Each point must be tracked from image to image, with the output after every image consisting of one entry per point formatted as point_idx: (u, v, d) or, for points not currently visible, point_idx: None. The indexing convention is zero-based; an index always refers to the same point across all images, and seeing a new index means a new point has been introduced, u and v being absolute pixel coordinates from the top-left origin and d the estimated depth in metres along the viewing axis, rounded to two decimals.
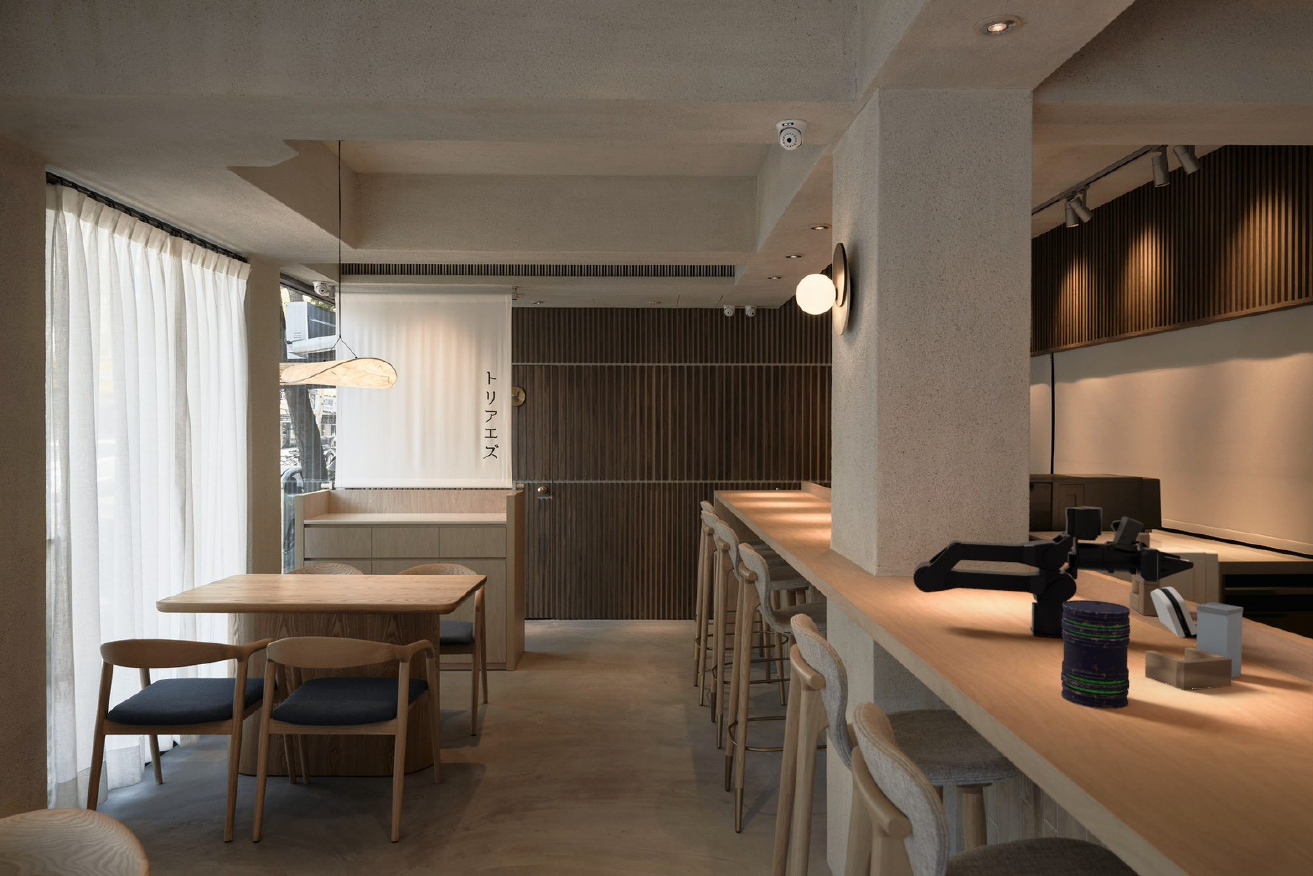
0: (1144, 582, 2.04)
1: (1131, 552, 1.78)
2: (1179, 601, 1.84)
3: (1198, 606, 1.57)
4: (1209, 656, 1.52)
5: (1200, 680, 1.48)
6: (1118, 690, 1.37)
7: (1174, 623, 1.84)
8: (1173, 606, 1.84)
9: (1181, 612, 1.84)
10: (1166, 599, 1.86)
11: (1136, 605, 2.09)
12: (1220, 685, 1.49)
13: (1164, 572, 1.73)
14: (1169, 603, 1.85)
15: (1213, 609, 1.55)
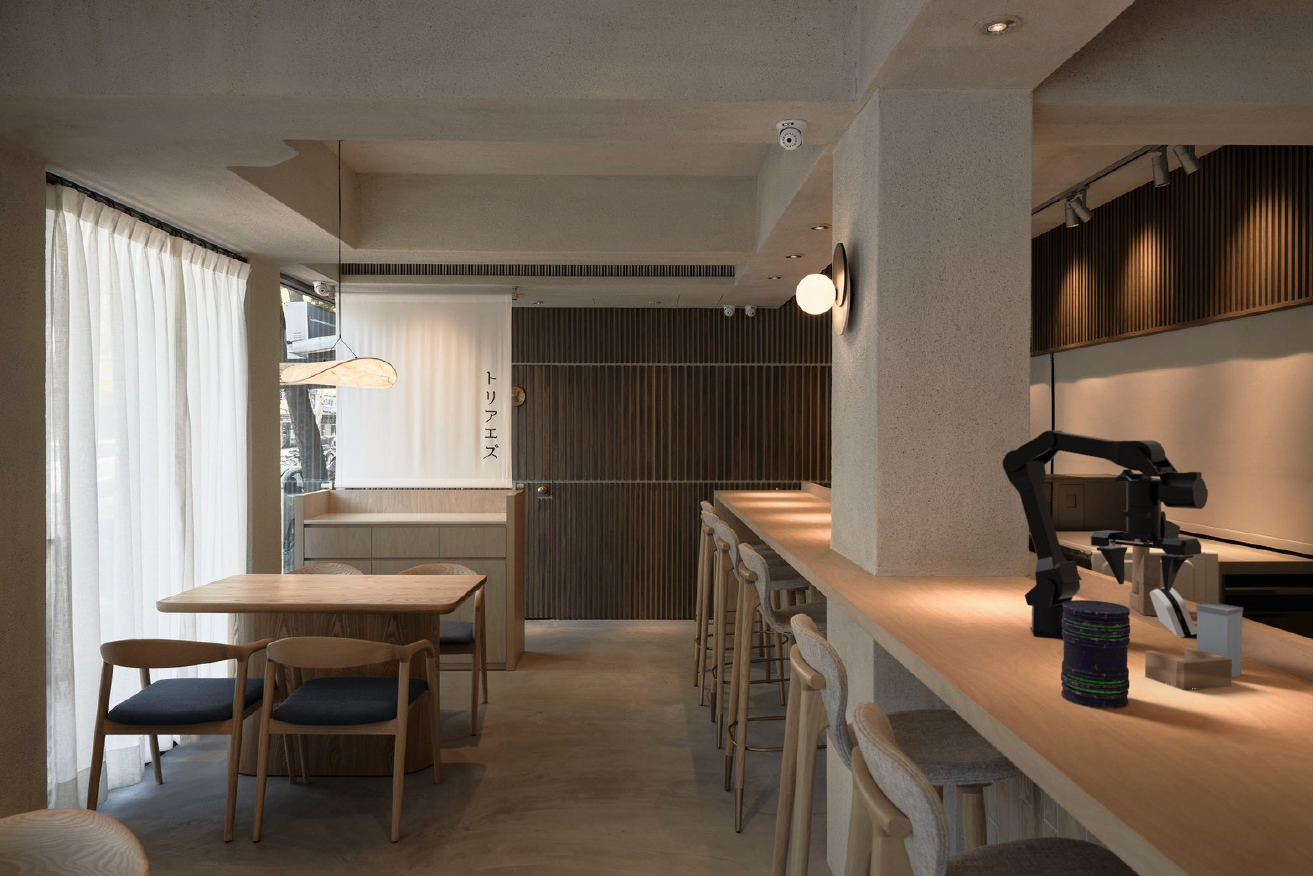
0: (1144, 582, 2.04)
1: (1161, 533, 1.68)
2: (1179, 601, 1.84)
3: (1199, 606, 1.57)
4: (1209, 656, 1.52)
5: (1200, 680, 1.48)
6: (1118, 690, 1.37)
7: (1174, 623, 1.84)
8: (1173, 606, 1.84)
9: (1181, 612, 1.84)
10: (1166, 599, 1.86)
11: (1136, 605, 2.09)
12: (1220, 685, 1.49)
13: (1172, 563, 1.63)
14: (1169, 603, 1.85)
15: (1213, 609, 1.55)
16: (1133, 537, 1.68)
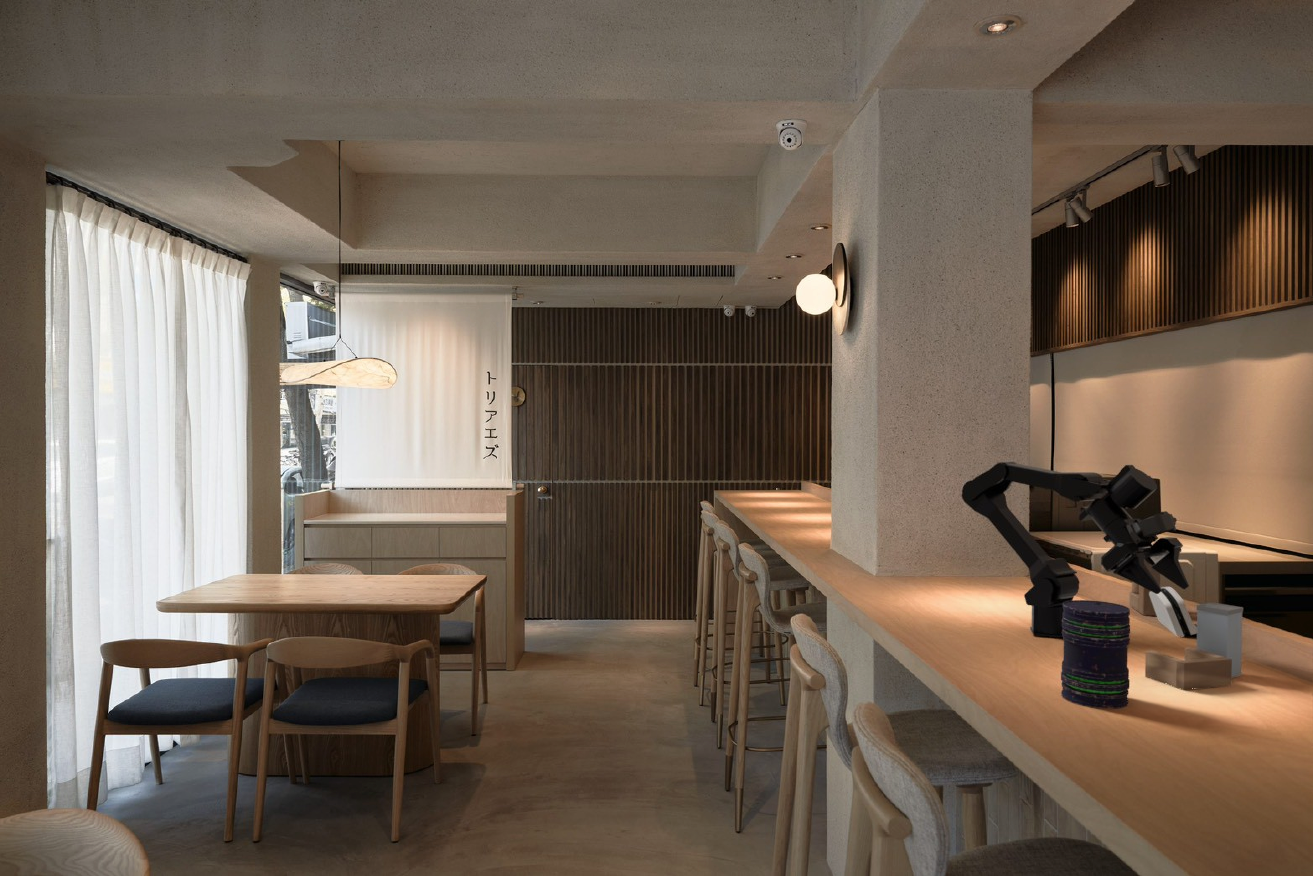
0: None
1: (1133, 540, 1.67)
2: (1178, 601, 1.84)
3: (1198, 606, 1.57)
4: (1209, 656, 1.52)
5: (1200, 680, 1.48)
6: (1118, 690, 1.37)
7: (1173, 623, 1.84)
8: (1172, 606, 1.84)
9: (1180, 612, 1.84)
10: (1165, 599, 1.86)
11: (1136, 605, 2.09)
12: (1220, 685, 1.49)
13: (1127, 574, 1.64)
14: (1168, 603, 1.85)
15: (1213, 609, 1.55)
16: None
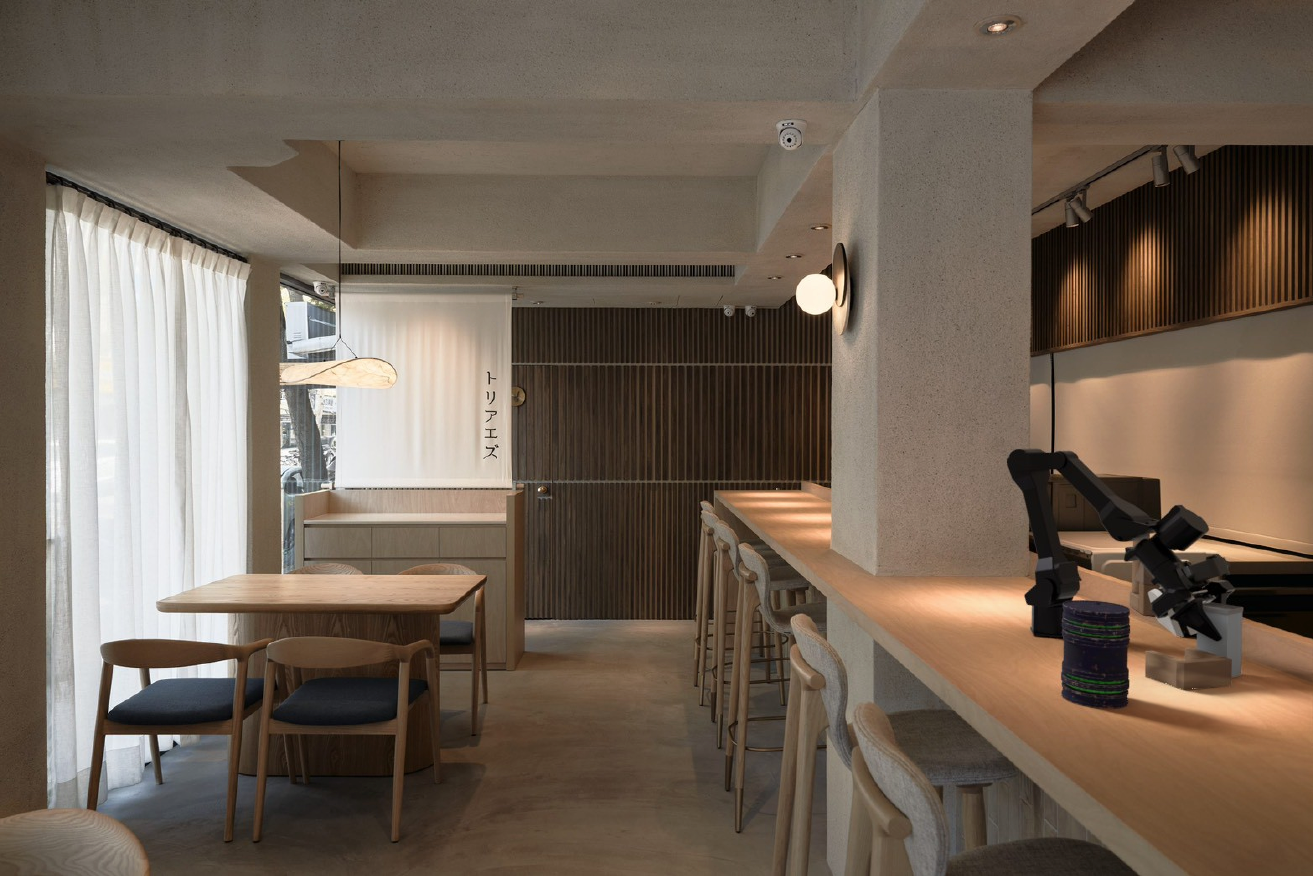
0: (1144, 582, 2.04)
1: (1184, 585, 1.59)
2: None
3: None
4: (1209, 656, 1.52)
5: (1200, 680, 1.48)
6: (1118, 690, 1.37)
7: (1173, 623, 1.84)
8: None
9: None
10: None
11: (1136, 605, 2.09)
12: (1220, 685, 1.49)
13: (1185, 620, 1.57)
14: None
15: (1213, 609, 1.55)
16: None
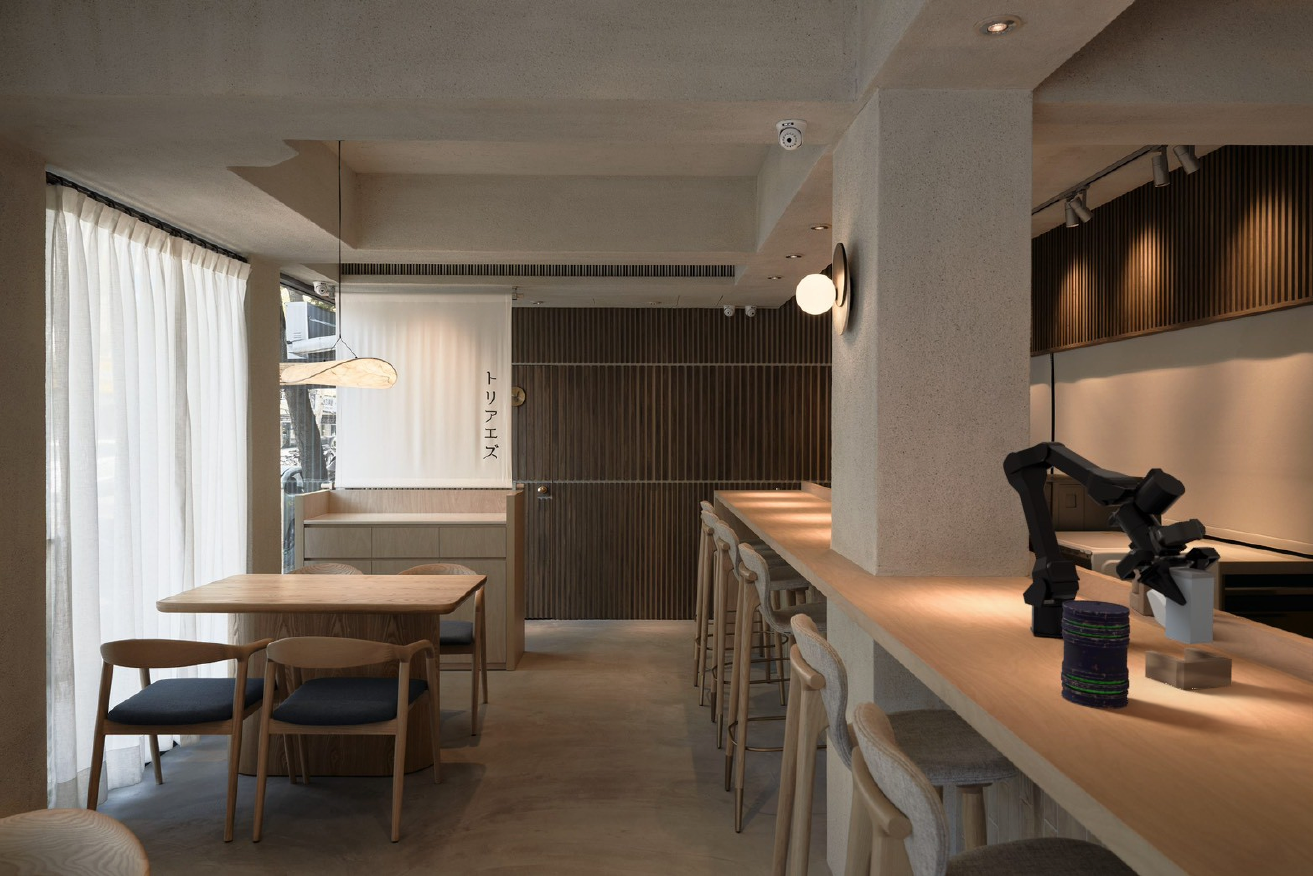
0: None
1: (1155, 549, 1.57)
2: None
3: None
4: (1209, 656, 1.52)
5: (1200, 680, 1.48)
6: (1118, 690, 1.37)
7: None
8: None
9: None
10: (1164, 599, 1.87)
11: (1136, 605, 2.09)
12: (1220, 685, 1.49)
13: (1152, 583, 1.55)
14: None
15: (1179, 573, 1.52)
16: None
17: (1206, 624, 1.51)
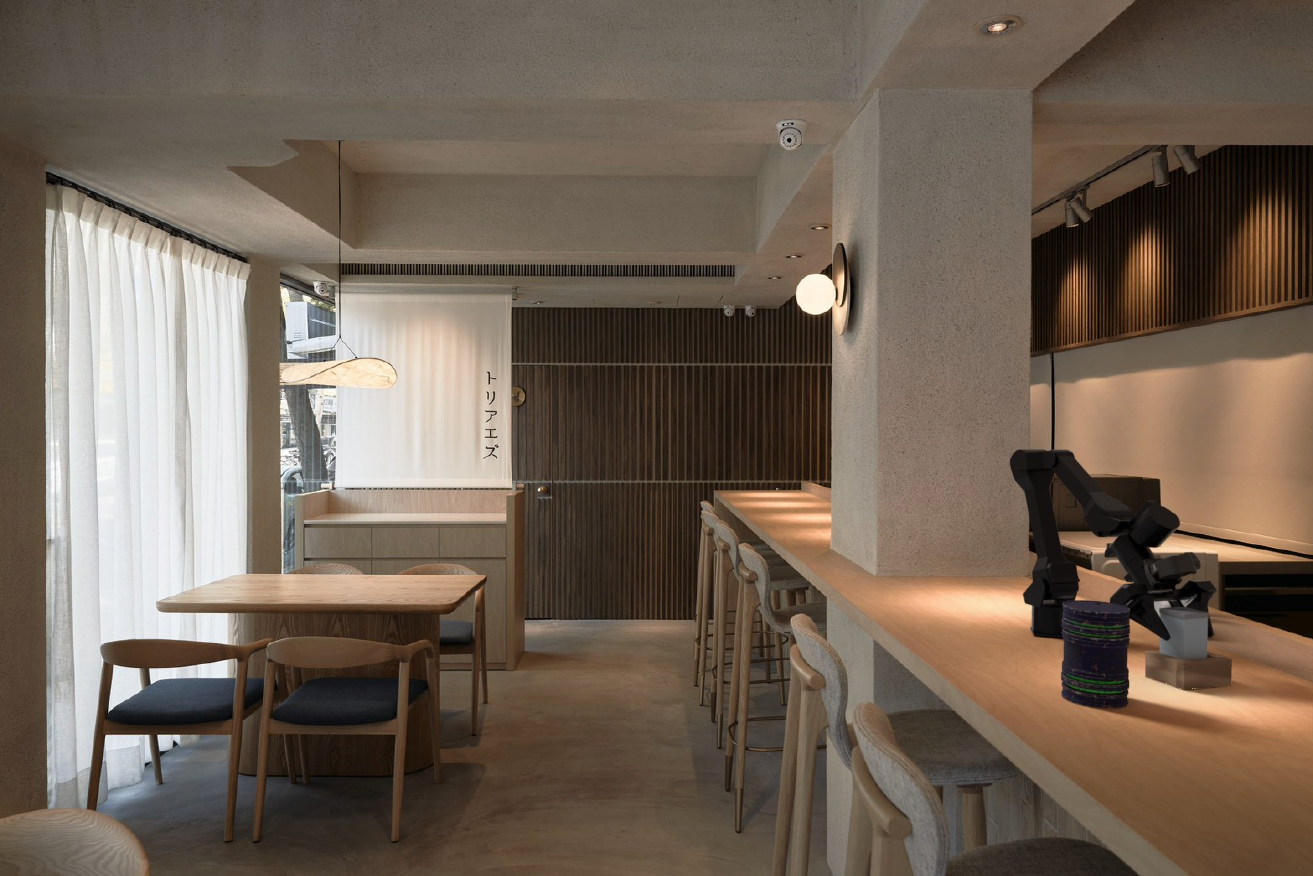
0: None
1: (1150, 582, 1.57)
2: None
3: (1161, 609, 1.54)
4: (1209, 656, 1.52)
5: (1200, 680, 1.48)
6: (1118, 690, 1.37)
7: None
8: (1171, 606, 1.85)
9: None
10: None
11: None
12: (1220, 685, 1.49)
13: (1137, 617, 1.54)
14: (1167, 603, 1.85)
15: (1172, 612, 1.52)
16: None
17: None
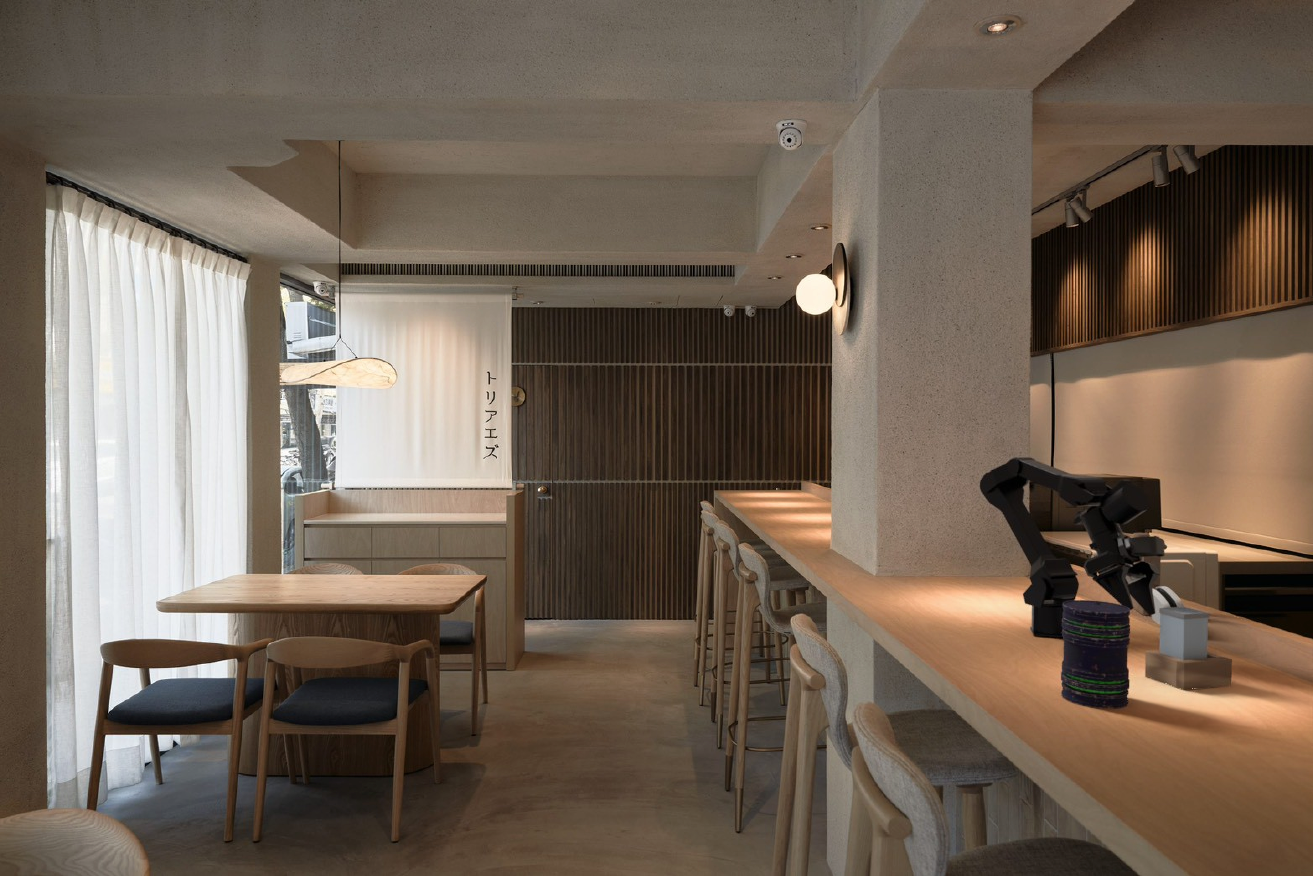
0: None
1: (1119, 554, 1.65)
2: (1176, 601, 1.85)
3: (1161, 609, 1.54)
4: (1209, 656, 1.52)
5: (1200, 680, 1.48)
6: (1118, 690, 1.37)
7: None
8: (1170, 606, 1.85)
9: None
10: (1163, 599, 1.87)
11: (1136, 605, 2.09)
12: (1220, 685, 1.49)
13: (1105, 584, 1.62)
14: (1166, 603, 1.85)
15: (1172, 612, 1.52)
16: None
17: None
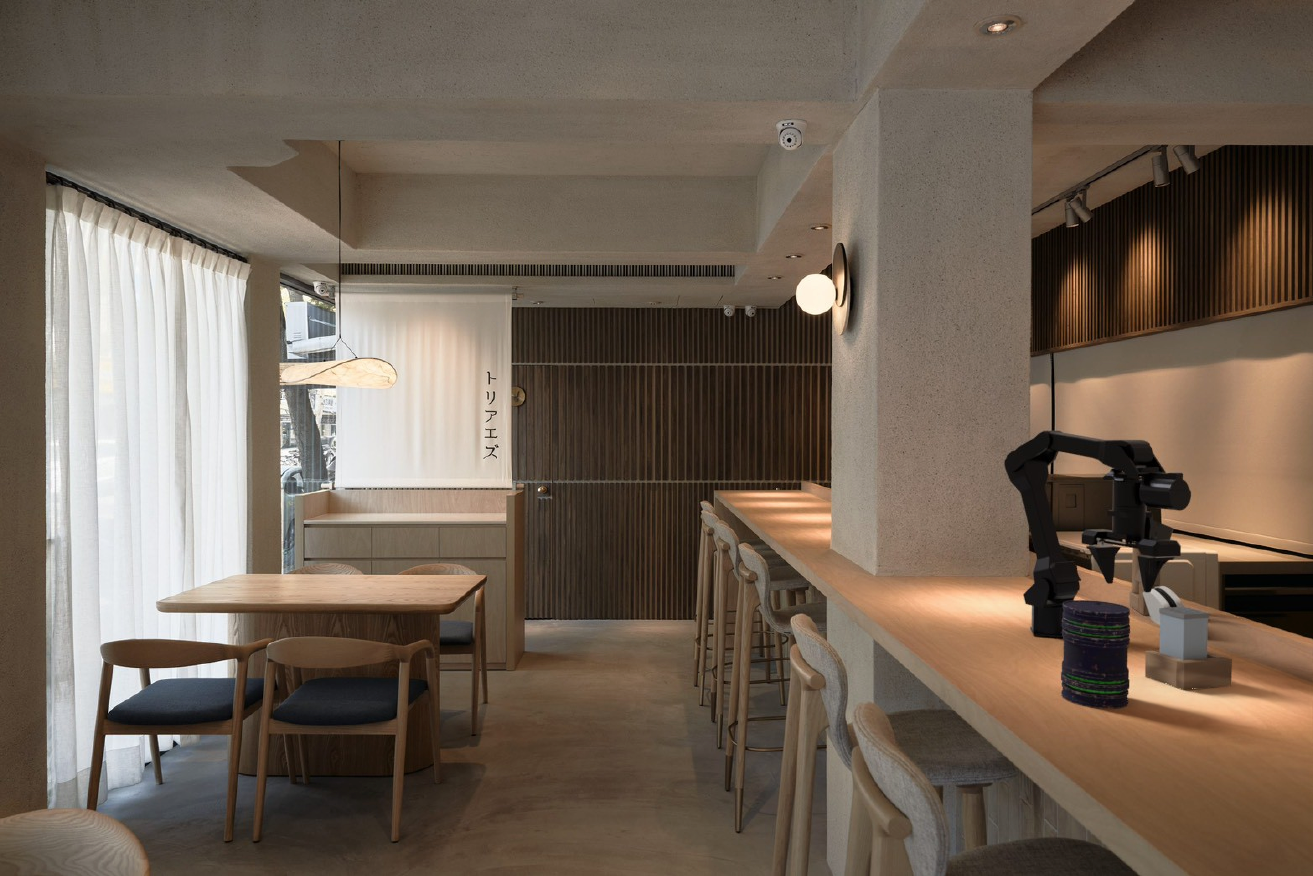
0: None
1: (1146, 534, 1.66)
2: (1176, 601, 1.85)
3: (1161, 609, 1.54)
4: (1209, 656, 1.52)
5: (1200, 680, 1.48)
6: (1118, 690, 1.37)
7: None
8: (1170, 606, 1.85)
9: None
10: (1162, 599, 1.87)
11: (1136, 605, 2.09)
12: (1220, 685, 1.49)
13: (1148, 564, 1.61)
14: (1166, 603, 1.85)
15: (1172, 612, 1.52)
16: (1115, 536, 1.67)
17: None
